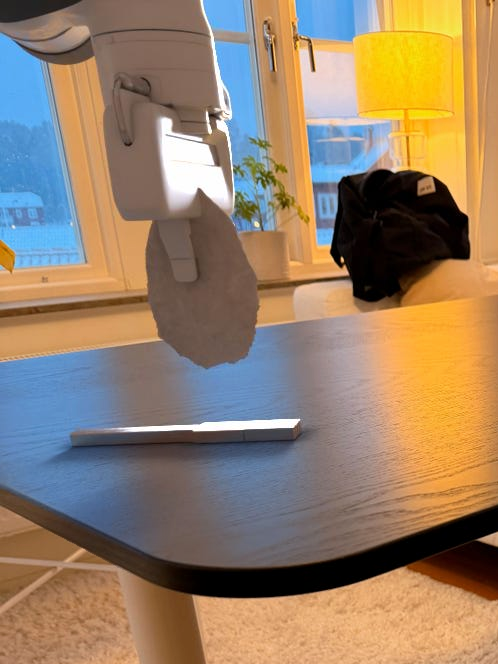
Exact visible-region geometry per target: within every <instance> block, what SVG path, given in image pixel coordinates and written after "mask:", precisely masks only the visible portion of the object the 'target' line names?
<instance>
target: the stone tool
mask: <svg viewBox="0 0 498 664" xmlns="http://www.w3.org/2000/svg"><path fill="white" fill-rule="evenodd" d="M198 192H199V199H200V203H201V212H202V215H201V217H199V218H189V223H190V229H191V234H189V236H190V240H191V244H192V248H193V252H194V256H195V257H198V263H199V270H200V275H201V276H200V278H199V280H197V281H194V282H180V283H179V282H177V281H176V280H175V278H174V275H173V270H172V265H171V259H170V258H169V256H168V253H167V251H166V249H165V247H164V244H163V242H162V240H161V238H160V234H159V228H158V223H157V220H151V224H150V227H149V231H148V235H147V239H146V240H147V241H146V246H145V252H144V254H145V257H144V258H145V271H146V273H145V274H146V281H147V282H146V287H147V302H148V304H149V306H150V311H151V313H152V318H153V320H154V322H155V325H156V326H155V327H156V329H157V337H158V338H159V339H160V340H163V341H164V343H166V344H167V345H169V346H170V347H171V349H173V350H174V351H175V352H176V354H177V355H178V356H179V357H184V358H185V359H188V360H189V361H190V362H192V363H193V364H194V365H196V366H198V367H201V368H203V369H205V370H209V369H210V368H213V367H214V368H215V367H217V366H219V365H222V364H224V363H225V364H226V363H228V364H229V365H231V364H232V365H235V364H236V363H238V362H239V361H241V360H245V359H246V358H247V357H248V356H249V352H250V349H251V348H252V347H253V342H255V335H257V330H256V326H257V323H258V322H259V321H258V316H259V315H258V312H259V310H260V307H261V305H259V304H260V298H259V295H258V283H259V277H258V274H257V272H256V270H255V269H254V268H253V266H252V263H251V262H250V260H249V258H248V254H247V253H246V252H245V249H244V246H243V242H242V239H241V238H240V235H239V233H238V230H237V227H236V225H235V224H234V222H233V220H232V219H231V216H228V215H227V214H226V213H225V212H224V211H223V210H222V209H221V208H220V207H219V206H218V205H217V204H215V203H214V202H213V201H212V200H211V199H210V198H209V197H208V196H207V195H206V194H205V192H204V191H203V190H202V189H201V188H199V187H198Z"/></svg>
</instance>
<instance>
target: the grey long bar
mask: <svg viewBox="0 0 498 664" xmlns="http://www.w3.org/2000/svg"><path fill="white" fill-rule="evenodd" d="M301 433H302V423H301V419H300V418H298V419H297V418H294V419H270V420H267V419H266V420H245V421H243V420H242V421H241V420H240V421H219V422H218V421H217V422H203V423H201V424H187V425H186V424H185V425H163V426H162V425H161V426H138V427H134V426H133V427H112V428H111V427H110V428H109V427H108V428H88V429H87V428H85V429H84V428H83V429H77V430H75V431H73V432H70V433H69V439H70V443H71V446H72V447H90V446H91V447H92V446H93V447H95V446H119V445H144V444H145V445H146V444H147V445H148V444H168V443H169V444H170V443H172V444H173V443H194V444H195V445H196V444H197V445H198V444H221V443H223V444H224V443H243V442H246V443H247V442H268V441H269V442H271V441H272V442H274V441H295V440H296V439H297V438H298V437H299V435H300V434H301Z"/></svg>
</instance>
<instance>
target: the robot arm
mask: <svg viewBox="0 0 498 664" xmlns="http://www.w3.org/2000/svg"><path fill="white" fill-rule="evenodd" d="M0 34H2V35H4V36H6V37H7V38H9V39H11V40H12V42H14V43H15V44H16V45H17V46H18V47H19V48H21V49H22V50H23V51H24V52H26V53H28V54H29V55H31V56H32V57H33V58H35V59H38V60H40V61H43V62H45V63H49V64H54V65H59V66H72V65H77V64H81V63H84V62H86V61H88V60H90V59H92V58H94V62H95V66H96V72H97V77H98V83H99V87H100V92H101V97H102V102H103V112H102V131H103V139H104V140H103V141H104V146H105V153H106V162H107V168H108V173H109V174H108V175H109V181H110V188H111V192H112V198H113V202H114V204H115V207H116V210H117V212H118V213H119V215H120V218H121V219H122V220H123V221H125V222H145V221H152V220H157V223H158V228H159V234H160V238H161V240H162V242H163V244H164V247H165V249H166V251H167V253H168V256H169V258H170V259H171V265H172V270H173V275H174V278H175V280H176V281H177V282H179V283H180V282H194V281H197V280H199V278H200V276H201V275H200V270H199V263H198V257H195V256H194V252H193V248H192V244H191V240H190V236H189V234H191V229H190V223H189V218H199V217H201V215H202V212H201V203H200V199H199V192H198V187H199V188H201V189H202V190H203V191H204V192H205V194H206V195H207V196H208V197H209V198H210V199H211V200H212V201H213V202H214V203H215V204H217V205H218V206H219V207H220V208H221V209H222V210H223V211H224V212H225V213H226V214H227V215H228V216H229V217H231V216H233V214H234V208H235V186H234V172H233V162H232V160H233V159H232V151H231V141H230V136H229V131H228V127H227V125H226V123H225V121H230V120H231V119H232V117H233V112H232V111H233V110H232V104H231V98H230V95H229V92H228V90H227V88H226V86H225V85H224V83H223V81H222V79H221V75H220V69H219V66H218V62H217V55H216V50H215V42H214V35H213V32H212V28H211V25H210V23H209V21H208V18H207V15H206V12H205V9H204V3H203V0H0Z"/></svg>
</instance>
